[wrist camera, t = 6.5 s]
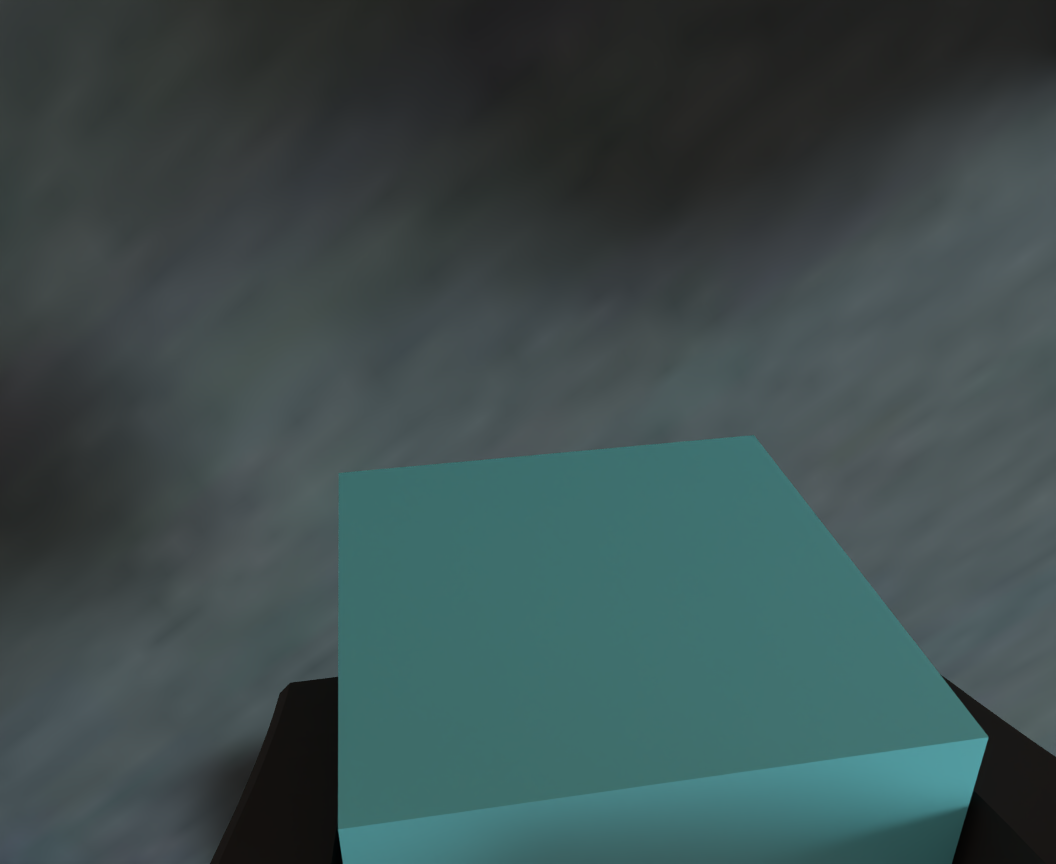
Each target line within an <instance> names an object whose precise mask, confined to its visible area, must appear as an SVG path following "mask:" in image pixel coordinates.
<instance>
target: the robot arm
mask: <svg viewBox="0 0 1056 864" xmlns="http://www.w3.org/2000/svg"><path fill="white" fill-rule="evenodd" d="M941 676H942V675H941ZM942 678H943V679H944V680H945V682H946V683H947V684H948V685H949V687H950V688H951V689H952V691H953V692H954V693H955V694H956V696H957V697H958V698H959V700H960V701H961V702H962V703H963V705H964V706H965V707H966V709H967V710H968V711H969V712H970V714H971V715H972V716H973V718H974V719H975V720H976V721H977V723H978V724H979V725H980V727H981V728H982V729H983V730H984V732H985V733H986V734H987V736H988V737H989V738H988V741H987V745H986V748H985V752H984V755H983V758H982V762H981V765H980V769H979V772H978V775H977V779H976V782H975V786H974V789H973V793H972V796H971V799H970V803H969V806H968V810H967V813H966V816H965V820H964V823H963V827H962V830H961V834H960V837H959V840H958V844H957V847H956V851H955V854H954V857H953V861H952V864H1056V757H1055V756H1053V755H1052V754H1050V753H1049V752H1048V751H1046V750H1045V749H1043V748H1042V747H1040V746H1039V745H1037V744H1036V743H1035V742H1033V741H1032V740H1030V739H1029V738H1027V737H1026V736H1025V735H1023V734H1022V733H1020V732H1019V731H1018V730H1016V729H1015V728H1013V727H1012V726H1011V725H1009V724H1008V723H1006V722H1005V721H1003V720H1002V719H1001V718H999V717H998V716H997V715H995V714H994V713H992V712H991V711H990V710H988V709H987V708H985V707H984V706H983V705H981V704H980V703H979V702H977V701H976V700H974V699H973V698H972V697H970V696H969V695H968V694H966V693H965V692H964V691H962V690H961V689H959V688H958V687H957V686H955V685H954V684H953V683H951V682H950V681H949V680H947V679H946V678H944V677H943V676H942ZM210 864H343V860H342V853H341V847H340V840H339V833H338V677H333V678H325V679H317V680H309V681H301V682H293V683H290V684H289V685H288V686H287V687H286V688H285V689H284V690H283V691H282V692H281V693H280V694H279V698H278V701H277V705H276V708H275V711H274V714H273V718H272V720H271V723H270V726H269V729H268V732H267V735H266V737H265V740H264V743H263V745H262V748H261V751H260V753H259V756H258V758H257V761H256V763H255V766H254V768H253V771H252V773H251V775H250V778H249V780H248V782H247V785H246V787H245V790H244V792H243V794H242V797H241V799H240V801H239V804H238V806H237V808H236V810H235V812H234V814H233V817H232V819H231V821H230V823H229V825H228V827H227V829H226V831H225V833H224V836H223V838H222V840H221V842H220V844H219V846H218V848H217V850H216V853H215V855H214V857H213V859H212V861H211V863H210Z"/></svg>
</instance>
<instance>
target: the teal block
mask: <svg viewBox="0 0 1056 864" xmlns="http://www.w3.org/2000/svg"><path fill="white" fill-rule="evenodd" d="M988 738H989V737H988V736H987V734H986V733H985V732H984V730H983V729H982V728H981V727H980V725H979V724H978V723H977V721H976V720H975V719H974V718H973V716H972V715H971V714H970V712H969V711H968V710H967V709H966V707H965V706H964V705H963V703H962V702H961V701H960V700H959V698H958V697H957V696H956V694H955V693H954V692H953V691H952V689H951V688H950V687H949V685H948V684H947V683H946V682H945V680H944V679H943V678H942V676H941V675H940V674H939V673H938V671H937V670H936V669H935V667H934V666H933V665H932V664H931V662H930V661H929V660H928V658H927V657H926V656H925V655H924V653H923V652H922V651H921V649H920V648H919V647H918V646H917V644H916V643H915V642H914V640H913V639H912V638H911V637H910V635H909V634H908V633H907V631H906V630H905V629H904V628H903V626H902V625H901V624H900V622H899V621H898V620H897V619H896V617H895V616H894V615H893V613H892V612H891V611H890V610H889V608H888V607H887V606H886V604H885V603H884V602H883V601H882V599H881V598H880V597H879V595H878V594H877V593H876V592H875V590H874V589H873V588H872V586H871V585H870V584H869V583H868V581H867V580H866V579H865V577H864V576H863V575H862V574H861V572H860V571H859V570H858V568H857V567H856V566H855V565H854V563H853V562H852V561H851V559H850V558H849V557H848V556H847V554H846V553H845V552H844V550H843V549H842V548H841V547H840V545H839V544H838V543H837V541H836V540H835V539H834V538H833V536H832V535H831V534H830V532H829V531H828V530H827V529H826V527H825V526H824V525H823V523H822V522H821V521H820V520H819V518H818V517H817V516H816V514H815V513H814V512H813V511H812V509H811V508H810V507H809V505H808V504H807V503H806V502H805V500H804V499H803V498H802V497H801V495H800V494H799V493H798V491H797V490H796V489H795V488H794V486H793V485H792V484H791V482H790V481H789V480H788V479H787V477H786V476H785V475H784V473H783V472H782V471H781V470H780V468H779V467H778V466H777V464H776V463H775V462H774V461H773V459H772V458H771V457H770V455H769V454H768V453H767V452H766V450H765V449H764V448H763V446H762V445H761V444H760V443H759V441H758V440H757V439H756V437H755V436H754V435H751V436H740V437H729V438H718V439H707V440H696V441H685V442H674V443H663V444H652V445H641V446H631V447H620V448H609V449H598V450H587V451H576V452H565V453H554V454H543V455H532V456H521V457H510V458H499V459H488V460H477V461H466V462H455V463H444V464H433V465H422V466H411V467H400V468H389V469H378V470H367V471H356V472H345V473H339V615H338V833H339V840H340V847H341V853H342V860H343V864H952V861H953V857H954V854H955V851H956V847H957V844H958V840H959V837H960V834H961V830H962V827H963V823H964V820H965V816H966V813H967V810H968V806H969V803H970V799H971V796H972V793H973V789H974V786H975V782H976V779H977V775H978V772H979V769H980V765H981V762H982V758H983V755H984V752H985V748H986V745H987V741H988Z"/></svg>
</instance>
